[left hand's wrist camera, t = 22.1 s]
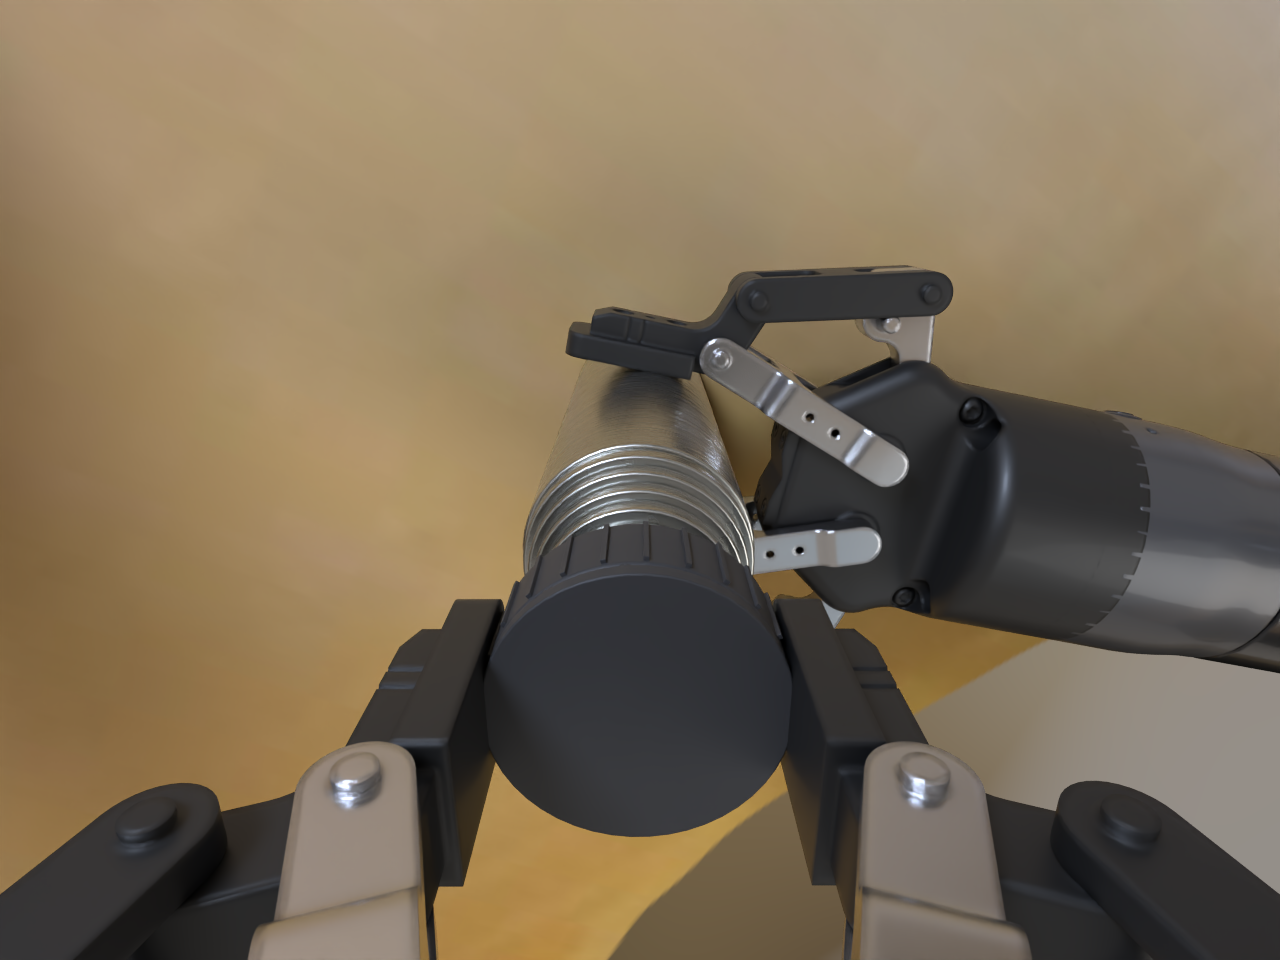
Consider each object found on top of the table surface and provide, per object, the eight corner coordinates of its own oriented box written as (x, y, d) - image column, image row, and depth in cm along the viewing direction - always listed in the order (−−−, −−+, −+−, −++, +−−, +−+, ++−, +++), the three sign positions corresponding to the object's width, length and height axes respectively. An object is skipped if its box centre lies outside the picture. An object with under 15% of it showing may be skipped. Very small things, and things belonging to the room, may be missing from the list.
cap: (652, 803, 13) (655, 886, 12) (443, 660, 12) (412, 730, 11) (836, 633, 12) (866, 700, 11) (620, 460, 11) (617, 504, 10)
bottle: (717, 434, 29) (830, 771, 12) (600, 470, 30) (542, 843, 12) (682, 315, 28) (752, 500, 10) (558, 354, 28) (426, 595, 11)
